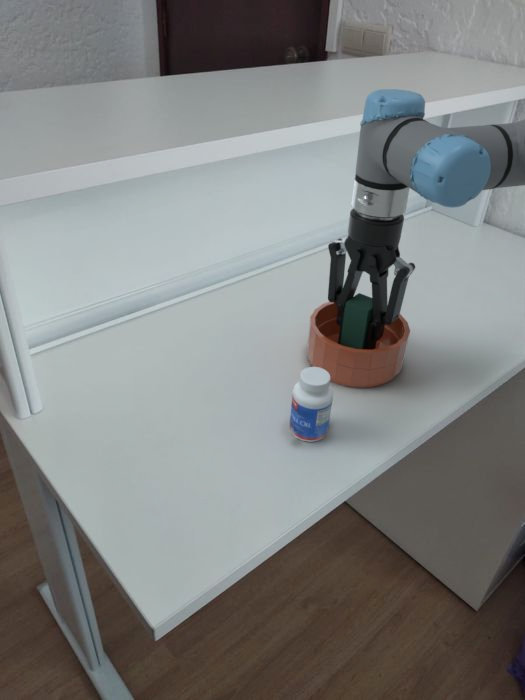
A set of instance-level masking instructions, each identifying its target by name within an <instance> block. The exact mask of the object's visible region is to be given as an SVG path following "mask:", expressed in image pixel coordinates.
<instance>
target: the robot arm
mask: <svg viewBox="0 0 525 700" xmlns="http://www.w3.org/2000/svg"><path fill="white" fill-rule="evenodd" d="M425 110H426V100H425V98H424V96H423V95H421V94H420V93H418V92H415V91H411V90H406V89H398V88H397V89H396V88H384V89H377V90H374V91H371V92H370V93H369V94H368V95H367V96H366V99H365V102H364V108H363V113H362V119H361V121H360V129H359V138H358V147H357V155H356V156H357V157H356V163H355V164H356V165H355V175H354V180H353V181H354V183H353V189H352V198H351V207H352V209H351V210H350V212H349V218H348V226H347V234H348V235H347V236H346V238H345V239H342V238H340V237H339V238H337V239H335V240H334V241H332V242H330V243H328V245H327V248H328V252H329V256H330V264H329V277H328V288H327V289H328V291H327V300H328V302H334V303H335V304H336V305H337V307H338V313H337V320H336V322H337V325H339V326H340V332H339V339H338V344H340V341H341V334H342V326H343V319H344V312H345V304H346V302H347V301H348V300H350V299H351V298H353V297H354V296H355V295H356V294H355V293H356V291H357V289H358V286H359V283H360V280H361V278H362V275H363V272H364V273H366V274H367V275H369V282H370V284H371V298H372V306H373V319H372V320H371V321H369V322H368V327H367V333H366V339H365V345H364V349H366V350H373V349H375V347H376V342H377V341H378V340H379V339H380V338H381V337H382V336H383V332H384V327H385V324H386V325H391V324H392V323H393V322H394V321H395V320H397V319H398V318H399V315H400V314H401V311H402V306H403V302H404V298H405V294H406V290H407V286H408V283H409V278H410V276H411V275H412V274H413V272H414V271H415V270H416V264H415V263H414V262H407V261H405V260H404V259H403V258H402V257H401V252H400V249H399V245H400V242H401V237H402V232H403V227H404V222H405V221H404V220H405V216H404V214H405V213H406V211H407V206H408V201H409V194H410V189H411V190H412V191H414V192H415V193H417V194H418V195H419V196H420V197H422V198H424V199H425V200H428V201H430V202H432V203H435V204H438V205H440V206H442V207H444V208H460V207H463V206H464V205H466V204H467V203H469V202H470V201H472V200H474V199H476V198H477V197H478V196H479V195H480V194H481V193H482V191H487V190H494V189H501V188H511V187H520V186H525V118H524V119H522V120H519V121H516V122H508V123H497V124H485V125H468V126H458V127H442V126H439V125H436V124H434V123H431V122H429V121H428V120H425V119H424V118H425V115H426V113H425ZM347 254H348V257H349V259H350V263H349V265H348V268H347V275H346V278H345V272H346V271H345V270H346V258H347ZM392 266H394V271H393V275H394V276H395V277H394V278H393V281H392V283H391V284H392V285H391V288H390V294H389V297H388V277H389V268H391V267H392Z"/></svg>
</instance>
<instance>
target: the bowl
mask: <svg viewBox="0 0 525 700" xmlns="http://www.w3.org/2000/svg"><path fill="white" fill-rule="evenodd" d="M337 313H338V307H337V305H336V304H335V303H334V302H329V301H327V302H324V303H322V304H320V305H319V306H317V307H316V308H315V309H313V312H312V314H311V315H310V317H309V325H308V336H307V345H306V356H307V357H306V358H308V361H309V363H310V365H311V367H319V368H322V369H325V370H326V371H327V372H328V373H329V374H330V382H333V383H335V384H338V385H342V386H346V387H349V388H364V389H365V388H366V389H367V388H374V387H379V386H383V385H385V384H387V383H389V382H390V381H392V380H393V379H394V378H395V377H396V376H397V375H398V374H400V372H401V371H402V368H403V366H404V361H405V357H406V352H407V348H408V343H409V339H410V334H411V329H410V325H409V322H408V320H406V319H405V318H404V316H403V315H402V314H401V313H400V315H399V318H398V319H397V320H395V321H394V322H393V323H392V324H391V325H386V324H385V327H384V332H383V336H382V337H381V338H380V339H379V340H378V341H377V342H376V347H375V349H373V350H366V349H355V348H350V347H346V346H342V345H340V344H338V339H339V332H340V326H339V325H337V322H336V320H337Z"/></svg>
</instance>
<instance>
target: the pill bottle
mask: <svg viewBox="0 0 525 700" xmlns="http://www.w3.org/2000/svg"><path fill="white" fill-rule="evenodd" d="M298 379H299V380H298V381H297V382H296V383H295V385H294V386H293V388H292V395H291V405H290V406H291V407H290V416H289V430H290V432H291V434H292V435H293V437H294V438H296V439H298V440H300V441H302V442H307V443H309V442H310V443H312V442H317V441H320V440H322V439H324V438H325V436H326V435H327V434H328V430H329V426H330V420H331V419H330V418H331V412H332V405H333V400H334V392H333V389H332V386H331V381H330V374H329V373H328V372H327V371H326V370H325V369H322V368H319V367H313V366H307V367H305V368H303V369H302V370H301V371H300V374H299V378H298Z"/></svg>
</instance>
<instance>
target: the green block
mask: <svg viewBox="0 0 525 700" xmlns="http://www.w3.org/2000/svg"><path fill="white" fill-rule="evenodd" d="M372 319H373V306H372V296H371V297H370V296H368V295H366V294H363V293H360V292H357V294H354V297H353V298H351V299H350V300H348V301H347V302H346V304H345V312H344V319H343V326H342V334H341V341H340V345H342V346H346V347H350V348H355V349H364V345H365V339H366V333H367V327H368V322H369V321H371V320H372Z"/></svg>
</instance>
